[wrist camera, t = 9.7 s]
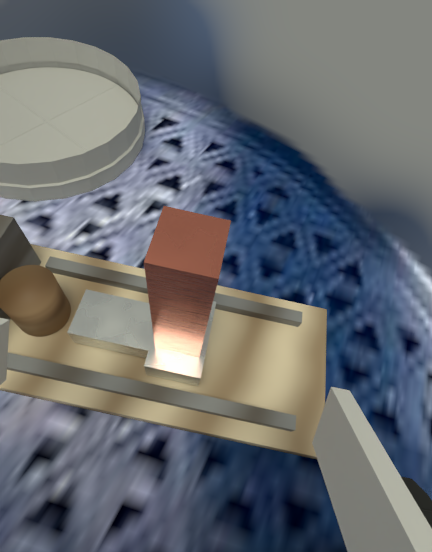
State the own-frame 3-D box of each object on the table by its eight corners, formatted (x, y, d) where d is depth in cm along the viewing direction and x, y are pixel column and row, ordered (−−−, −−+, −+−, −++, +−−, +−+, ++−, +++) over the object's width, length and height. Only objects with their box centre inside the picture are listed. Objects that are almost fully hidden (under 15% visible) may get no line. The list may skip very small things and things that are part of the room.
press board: (-73, 374, 25) (-156, 341, 19) (6, 246, 32) (-37, 189, 25) (316, 459, 26) (364, 455, 19) (320, 316, 32) (358, 276, 25)
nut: (9, 307, 27) (-15, 282, 24) (57, 283, 29) (41, 256, 25) (30, 346, 26) (8, 325, 22) (79, 318, 27) (66, 294, 24)
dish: (182, 135, 42) (183, 97, 38) (29, 240, 33) (7, 204, 28) (64, 58, 48) (53, 17, 43) (-99, 128, 38) (-134, 84, 33)
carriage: (68, 357, 25) (-25, 256, 13) (97, 288, 29) (42, 156, 16) (198, 386, 26) (222, 310, 13) (213, 314, 29) (243, 200, 16)
